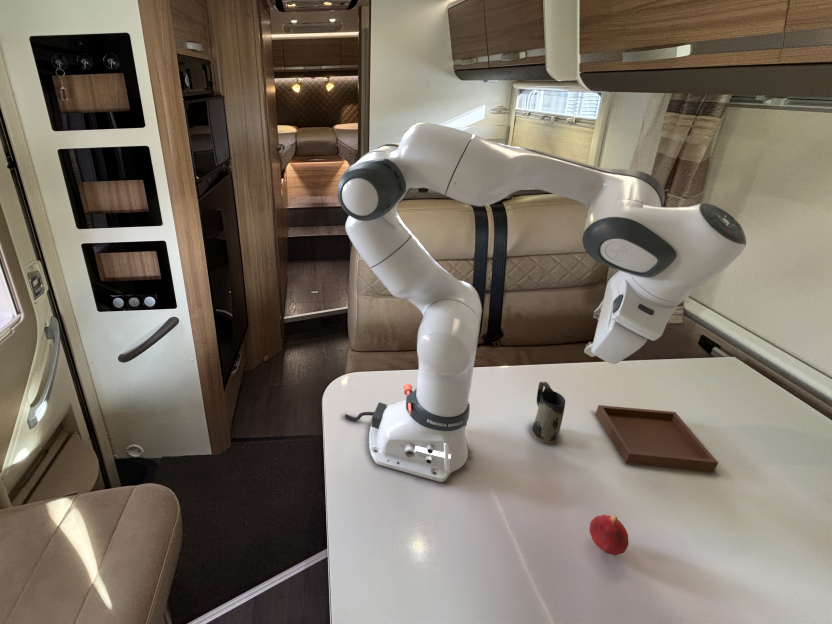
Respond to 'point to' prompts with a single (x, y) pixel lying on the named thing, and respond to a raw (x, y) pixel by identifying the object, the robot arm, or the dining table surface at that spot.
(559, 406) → the mug
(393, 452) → the robot arm
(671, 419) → the tray
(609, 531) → the onion
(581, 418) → the dining table surface
